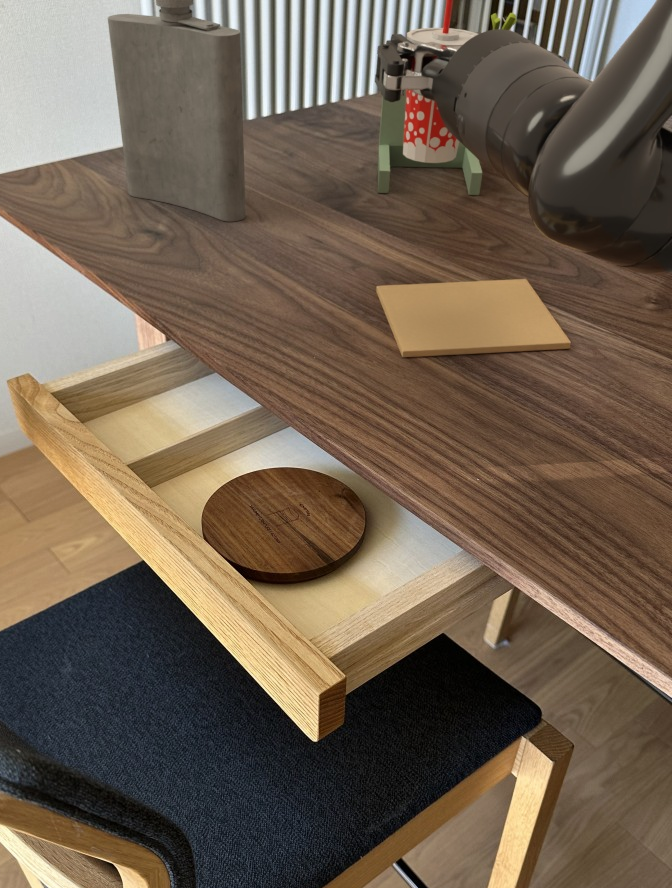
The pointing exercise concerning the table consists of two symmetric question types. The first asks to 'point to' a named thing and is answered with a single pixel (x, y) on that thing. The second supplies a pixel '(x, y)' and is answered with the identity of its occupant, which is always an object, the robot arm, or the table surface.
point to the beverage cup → (430, 103)
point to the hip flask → (181, 109)
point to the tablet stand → (393, 156)
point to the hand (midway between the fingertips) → (433, 47)
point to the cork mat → (469, 318)
